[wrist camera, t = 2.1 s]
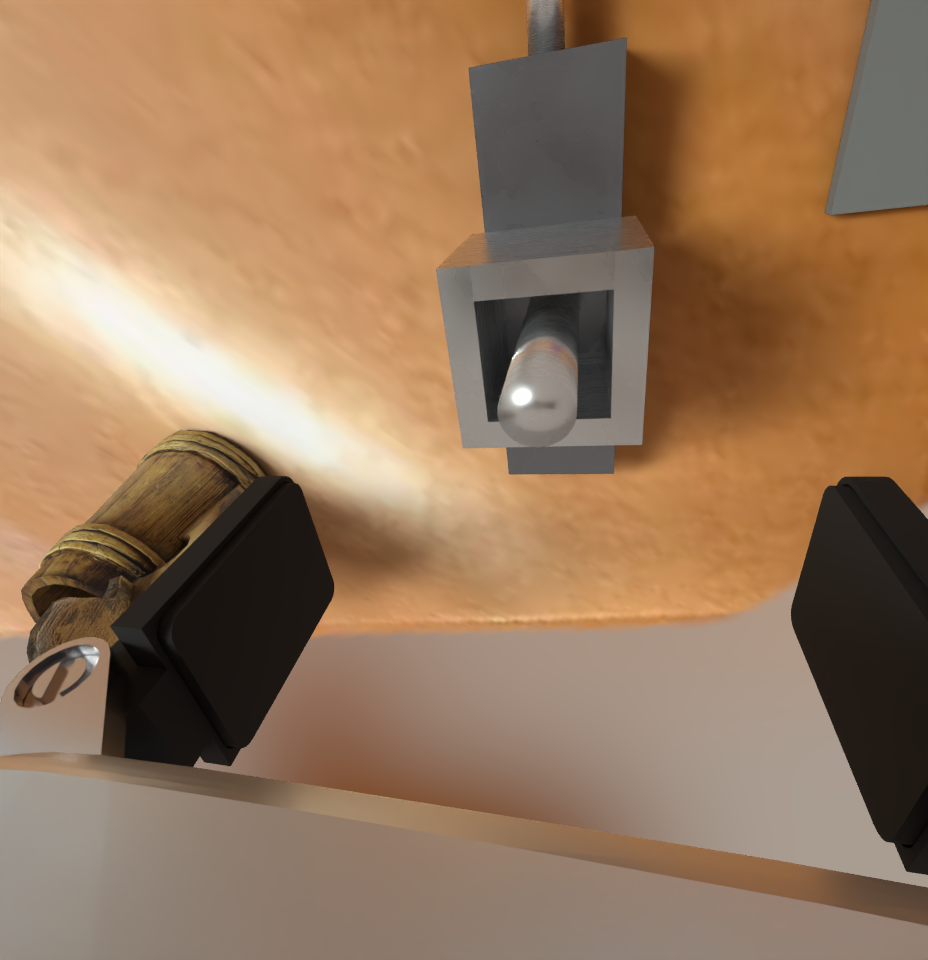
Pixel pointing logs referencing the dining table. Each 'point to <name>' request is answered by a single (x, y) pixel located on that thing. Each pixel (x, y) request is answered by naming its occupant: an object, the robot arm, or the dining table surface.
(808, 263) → the dining table surface
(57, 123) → the dining table surface
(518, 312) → the block
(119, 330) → the dining table surface
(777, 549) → the dining table surface
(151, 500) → the wooden mug
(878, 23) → the slate pad
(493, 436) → the steel collar
